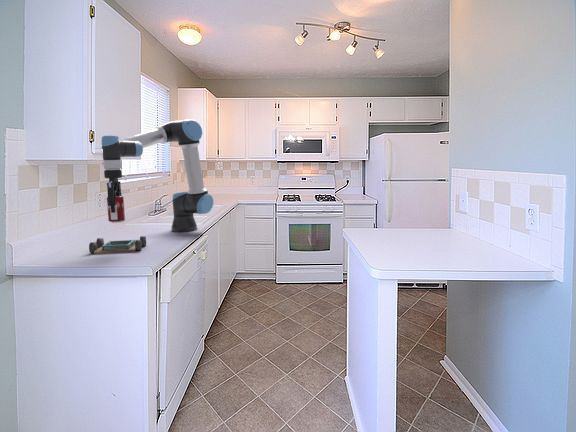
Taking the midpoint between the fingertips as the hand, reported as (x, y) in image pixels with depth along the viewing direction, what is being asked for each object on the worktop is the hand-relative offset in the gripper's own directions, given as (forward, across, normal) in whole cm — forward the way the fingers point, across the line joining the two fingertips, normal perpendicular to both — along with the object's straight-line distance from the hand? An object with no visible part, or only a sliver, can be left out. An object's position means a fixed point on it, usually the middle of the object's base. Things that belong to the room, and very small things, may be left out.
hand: (116, 218), depth 186 cm
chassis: (+15, 0, 0) cm, 15 cm away
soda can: (+2, 0, 0) cm, 2 cm away
